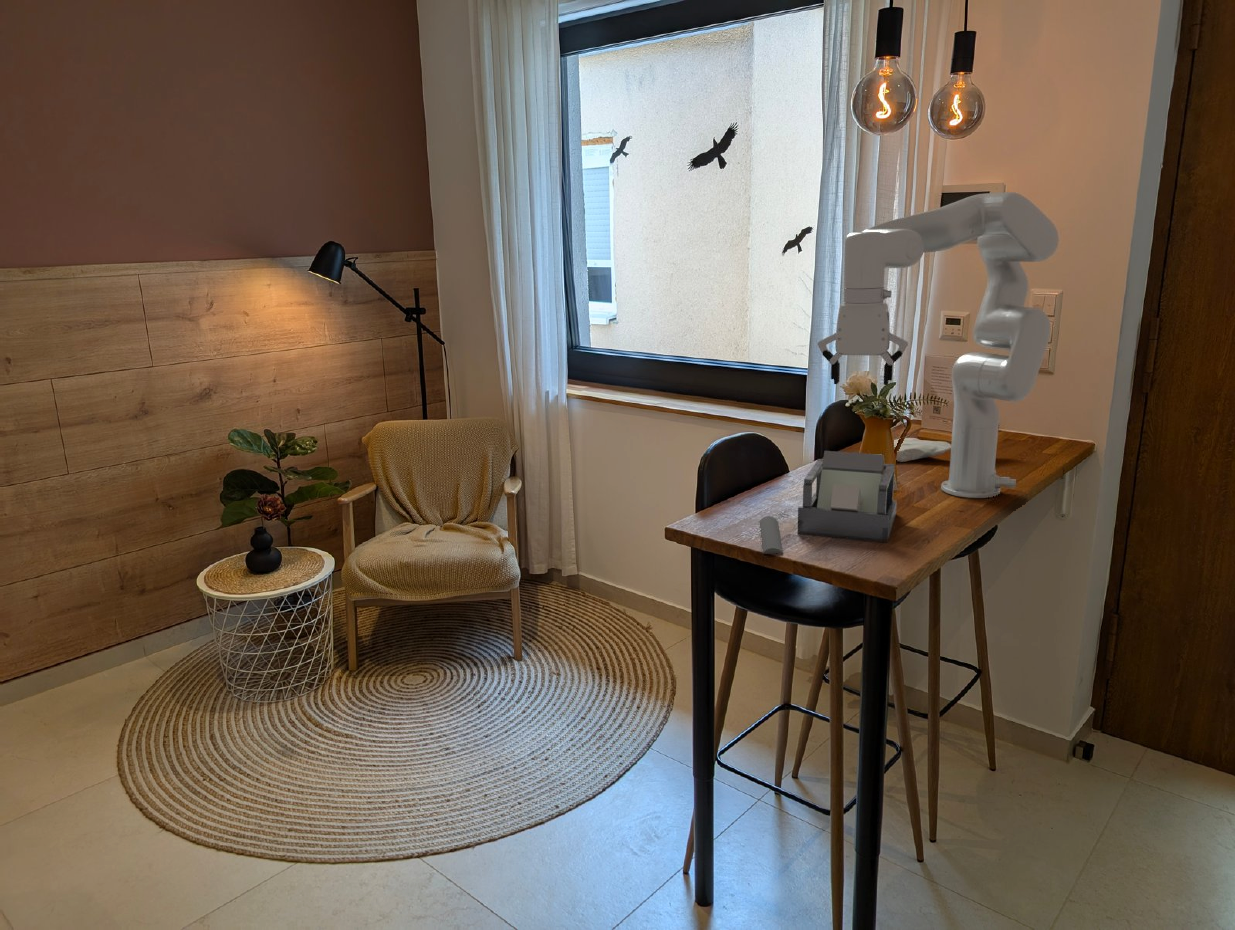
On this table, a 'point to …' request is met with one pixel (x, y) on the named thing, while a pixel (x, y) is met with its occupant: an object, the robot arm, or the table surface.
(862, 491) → the trapdoor
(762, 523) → the gray half cylinder
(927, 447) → the rock
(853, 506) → the matte off-white cube
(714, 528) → the table surface
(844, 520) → the trapdoor frame
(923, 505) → the table surface
